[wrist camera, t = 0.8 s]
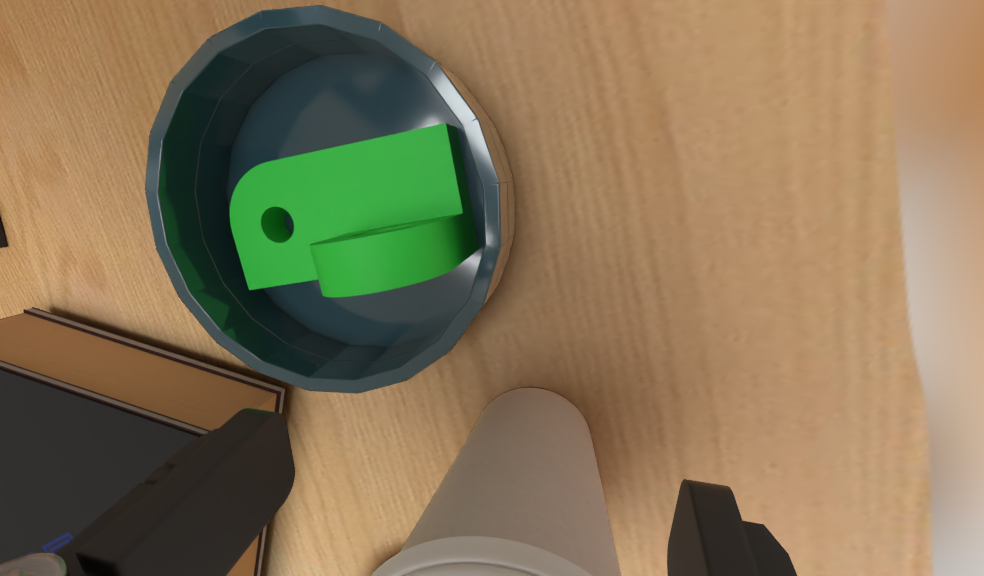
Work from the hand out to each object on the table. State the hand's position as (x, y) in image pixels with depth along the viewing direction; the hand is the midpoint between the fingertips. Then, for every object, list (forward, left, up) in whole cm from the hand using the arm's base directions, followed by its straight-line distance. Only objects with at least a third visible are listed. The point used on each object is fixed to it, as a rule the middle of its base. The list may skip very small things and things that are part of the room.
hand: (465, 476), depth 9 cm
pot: (-4, -9, -16) cm, 19 cm away
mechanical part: (-4, -9, -16) cm, 18 cm away
